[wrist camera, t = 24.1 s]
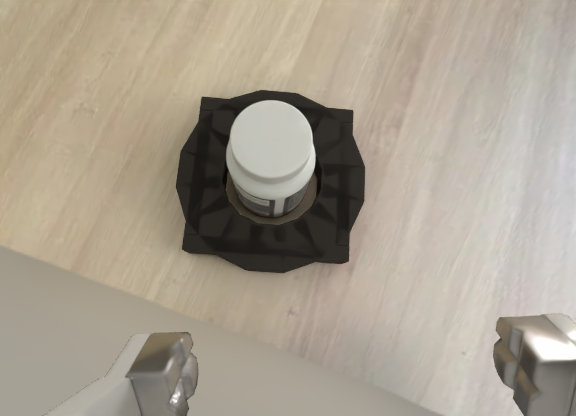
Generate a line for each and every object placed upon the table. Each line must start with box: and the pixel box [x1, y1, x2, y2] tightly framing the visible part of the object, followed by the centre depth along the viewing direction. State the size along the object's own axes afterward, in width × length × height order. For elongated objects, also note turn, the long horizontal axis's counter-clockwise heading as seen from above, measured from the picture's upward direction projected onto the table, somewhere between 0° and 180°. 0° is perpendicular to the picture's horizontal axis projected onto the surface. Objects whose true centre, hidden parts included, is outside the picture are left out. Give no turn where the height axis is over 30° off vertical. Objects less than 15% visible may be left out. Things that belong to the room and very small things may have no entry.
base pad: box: [176, 90, 365, 273], centre depth 29 cm, size 14×14×2 cm
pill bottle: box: [226, 100, 315, 217], centre depth 25 cm, size 6×6×10 cm
